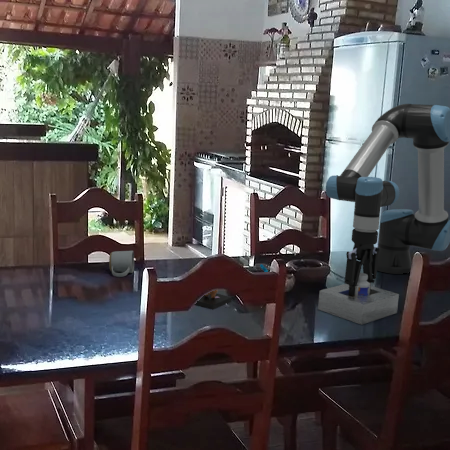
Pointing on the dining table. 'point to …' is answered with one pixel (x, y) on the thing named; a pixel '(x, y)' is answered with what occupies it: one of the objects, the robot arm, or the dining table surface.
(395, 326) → the dining table surface
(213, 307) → the figurine
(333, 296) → the white flat square box
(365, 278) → the pill bottle
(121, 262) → the ceramic mug
